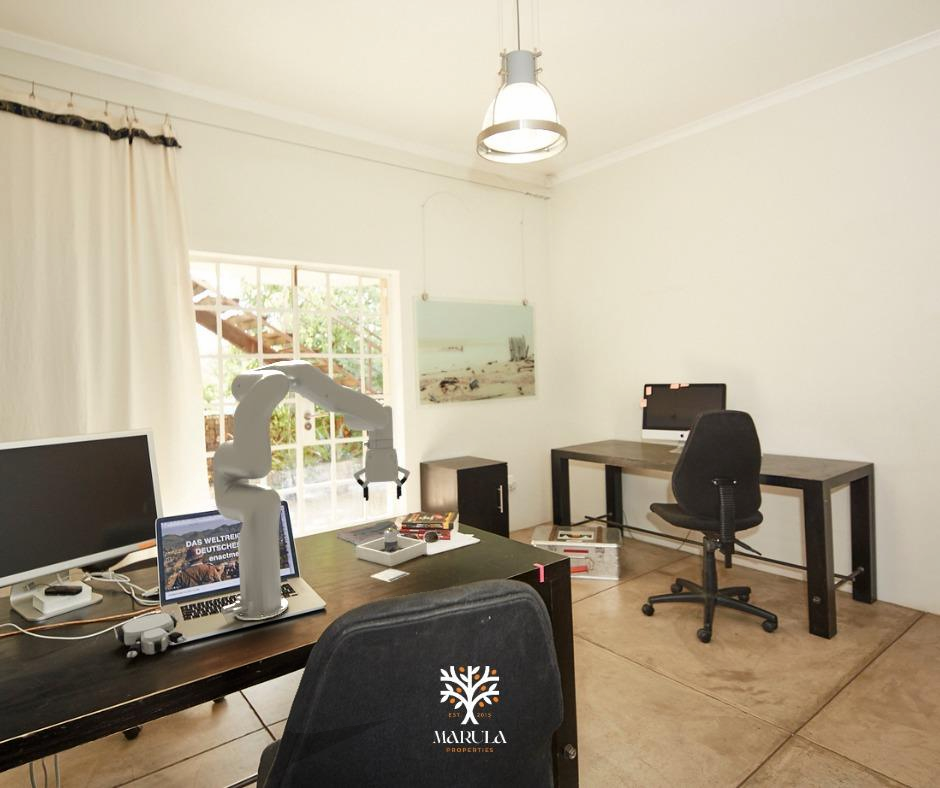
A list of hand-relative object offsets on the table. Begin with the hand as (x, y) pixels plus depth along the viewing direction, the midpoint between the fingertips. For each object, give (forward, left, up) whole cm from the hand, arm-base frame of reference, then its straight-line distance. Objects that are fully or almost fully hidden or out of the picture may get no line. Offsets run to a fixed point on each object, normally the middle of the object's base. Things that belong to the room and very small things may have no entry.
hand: (382, 499), depth 180 cm
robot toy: (-69, 0, -19) cm, 72 cm away
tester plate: (-11, -14, -19) cm, 26 cm away
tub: (+2, -1, -19) cm, 19 cm away
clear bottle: (+2, -1, -18) cm, 18 cm away
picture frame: (+17, +24, -20) cm, 35 cm away
